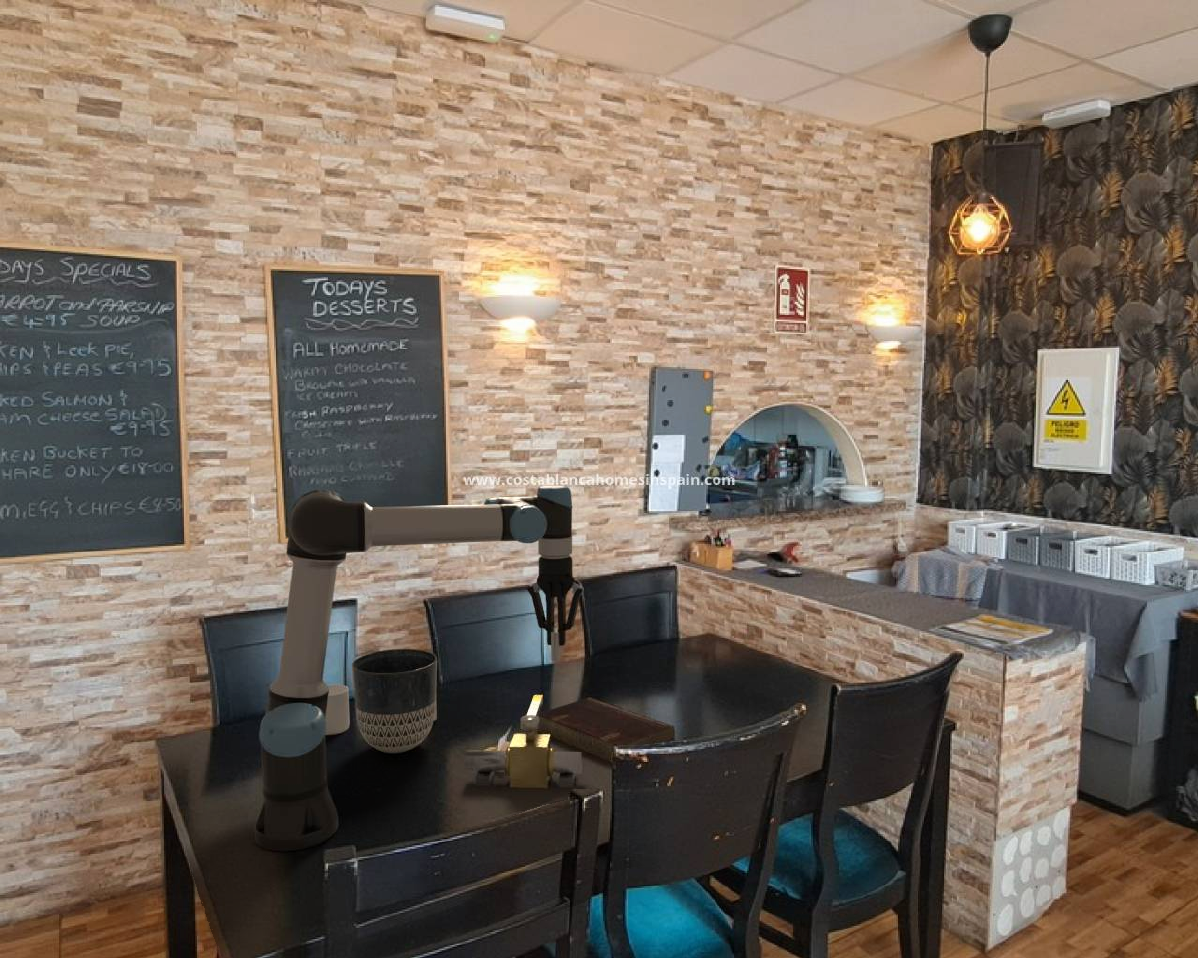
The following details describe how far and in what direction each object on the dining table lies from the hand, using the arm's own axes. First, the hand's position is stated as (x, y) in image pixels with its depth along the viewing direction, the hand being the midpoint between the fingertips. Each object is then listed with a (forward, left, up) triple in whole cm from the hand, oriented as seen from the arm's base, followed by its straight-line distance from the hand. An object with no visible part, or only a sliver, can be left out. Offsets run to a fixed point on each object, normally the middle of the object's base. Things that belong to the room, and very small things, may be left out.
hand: (556, 659), depth 193 cm
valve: (-9, +7, -24) cm, 27 cm away
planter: (+7, +39, -25) cm, 47 cm away
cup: (+20, +60, -25) cm, 68 cm away
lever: (-2, +5, -13) cm, 14 cm away
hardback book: (+16, -10, -25) cm, 32 cm away
